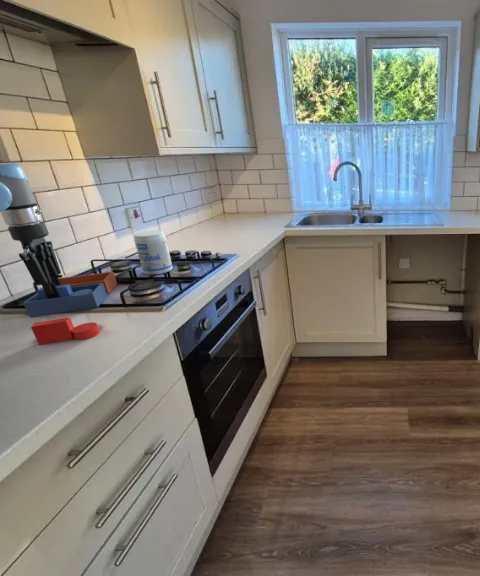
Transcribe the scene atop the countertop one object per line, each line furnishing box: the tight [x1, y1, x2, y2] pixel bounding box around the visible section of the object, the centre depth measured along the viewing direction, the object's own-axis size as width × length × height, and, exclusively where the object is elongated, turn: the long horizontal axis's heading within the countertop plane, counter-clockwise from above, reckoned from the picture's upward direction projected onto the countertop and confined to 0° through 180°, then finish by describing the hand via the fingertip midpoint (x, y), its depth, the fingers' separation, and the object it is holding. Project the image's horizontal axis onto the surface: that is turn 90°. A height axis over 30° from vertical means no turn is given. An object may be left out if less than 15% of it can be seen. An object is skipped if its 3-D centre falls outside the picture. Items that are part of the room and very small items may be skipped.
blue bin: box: [23, 283, 108, 318], centre depth 108 cm, size 16×9×4 cm, turn 111°
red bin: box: [58, 271, 118, 295], centre depth 117 cm, size 16×9×4 cm, turn 110°
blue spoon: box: [36, 284, 93, 300], centre depth 107 cm, size 12×5×5 cm, turn 110°
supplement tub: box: [133, 229, 173, 276], centre depth 133 cm, size 10×10×15 cm
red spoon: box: [30, 316, 101, 345], centre depth 90 cm, size 12×5×5 cm, turn 110°
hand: (58, 301), depth 107 cm, fingers closed on blue spoon, 2 cm apart
